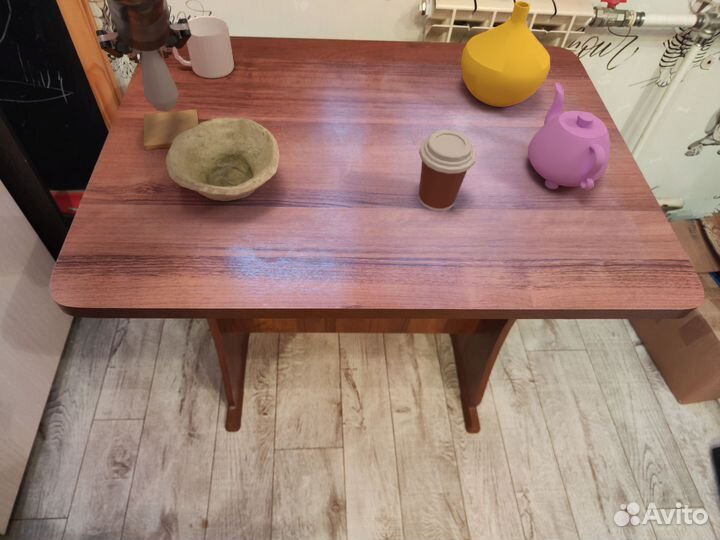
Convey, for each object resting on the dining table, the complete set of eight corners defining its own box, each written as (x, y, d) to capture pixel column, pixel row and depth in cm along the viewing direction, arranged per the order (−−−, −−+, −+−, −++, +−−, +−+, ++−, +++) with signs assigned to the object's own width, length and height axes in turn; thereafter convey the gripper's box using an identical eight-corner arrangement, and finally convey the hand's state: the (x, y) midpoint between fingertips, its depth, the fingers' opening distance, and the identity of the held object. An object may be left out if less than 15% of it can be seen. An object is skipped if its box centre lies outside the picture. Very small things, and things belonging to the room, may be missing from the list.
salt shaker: (176, 115, 87) (157, 44, 77) (144, 113, 87) (120, 41, 77) (184, 97, 91) (166, 26, 81) (153, 95, 91) (131, 24, 80)
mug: (236, 58, 111) (230, 16, 104) (231, 79, 106) (224, 37, 98) (183, 56, 110) (173, 14, 103) (175, 77, 105) (163, 34, 98)
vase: (443, 74, 112) (462, -15, 97) (517, 70, 115) (546, -17, 100) (469, 121, 101) (495, 29, 86) (550, 115, 104) (588, 25, 89)
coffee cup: (468, 191, 88) (486, 136, 78) (452, 223, 82) (468, 168, 73) (422, 175, 90) (433, 119, 80) (402, 205, 85) (412, 149, 75)
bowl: (277, 198, 90) (282, 204, 76) (175, 198, 86) (160, 205, 72) (275, 120, 87) (280, 111, 73) (169, 117, 83) (152, 107, 69)
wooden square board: (145, 150, 90) (143, 145, 89) (145, 118, 95) (143, 114, 95) (201, 144, 92) (200, 139, 91) (197, 113, 97) (196, 109, 97)
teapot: (503, 139, 98) (523, 82, 88) (567, 134, 100) (593, 78, 91) (545, 209, 86) (574, 152, 76) (616, 201, 88) (653, 145, 79)
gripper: (184, -22, 69) (185, 26, 85) (74, -10, 65) (98, 38, 81) (200, 33, 70) (198, 70, 86) (94, 48, 66) (113, 84, 82)
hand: (149, 54), depth 83 cm, fingers closed on salt shaker, 4 cm apart
